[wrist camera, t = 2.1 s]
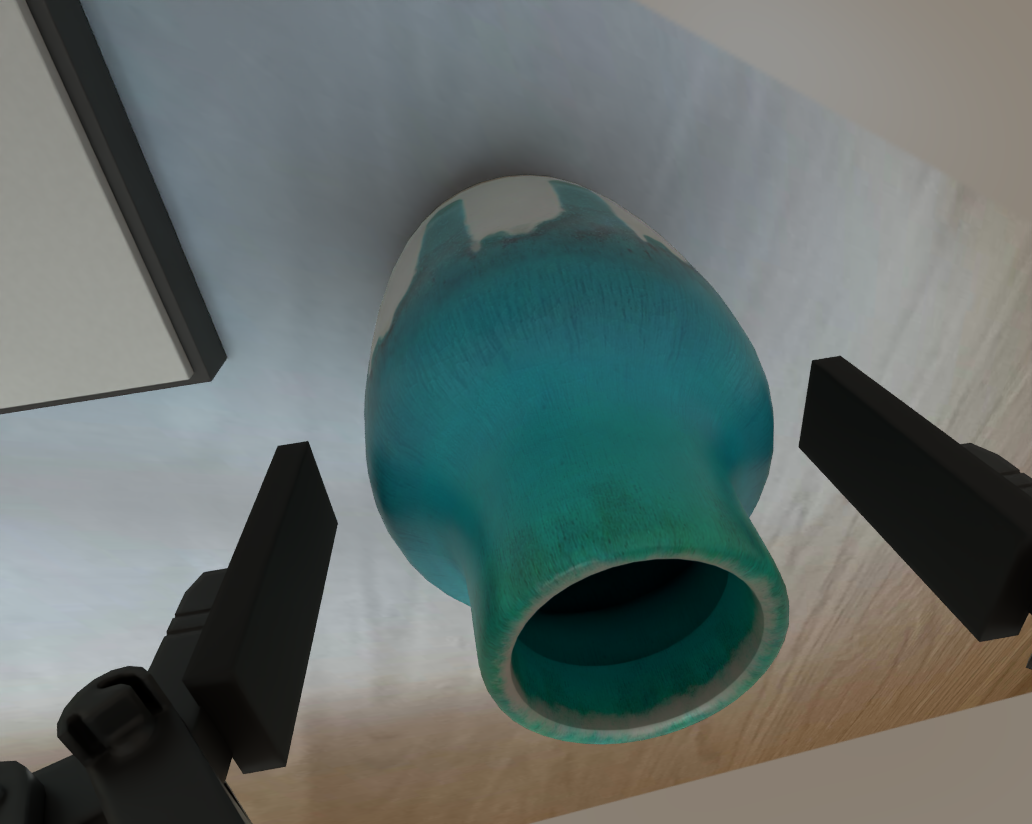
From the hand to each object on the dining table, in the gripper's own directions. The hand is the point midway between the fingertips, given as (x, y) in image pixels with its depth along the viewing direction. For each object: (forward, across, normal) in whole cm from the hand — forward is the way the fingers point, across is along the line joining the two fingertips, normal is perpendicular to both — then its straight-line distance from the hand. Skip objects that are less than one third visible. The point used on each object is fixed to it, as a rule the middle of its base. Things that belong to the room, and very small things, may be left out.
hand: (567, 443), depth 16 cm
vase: (+13, 0, 0) cm, 13 cm away
